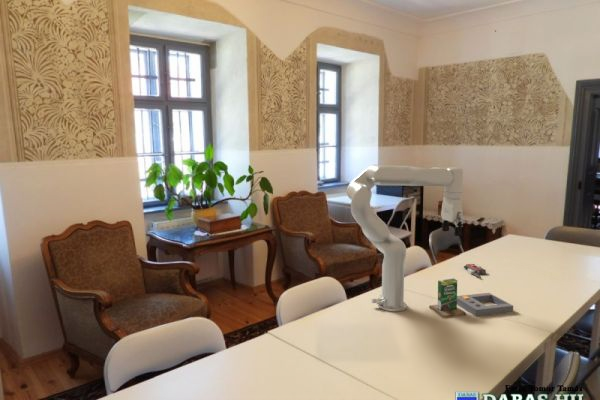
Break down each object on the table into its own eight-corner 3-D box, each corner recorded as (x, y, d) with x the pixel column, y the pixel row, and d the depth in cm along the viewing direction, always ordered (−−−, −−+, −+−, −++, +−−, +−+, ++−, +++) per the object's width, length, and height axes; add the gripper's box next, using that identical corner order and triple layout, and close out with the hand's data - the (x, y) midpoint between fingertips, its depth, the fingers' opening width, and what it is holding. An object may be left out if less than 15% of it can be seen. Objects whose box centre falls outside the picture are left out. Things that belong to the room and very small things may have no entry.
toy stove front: (475, 316, 177) (476, 308, 177) (454, 302, 193) (454, 295, 192) (513, 312, 181) (513, 304, 181) (488, 298, 197) (489, 291, 196)
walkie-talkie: (460, 269, 244) (478, 280, 224) (460, 261, 243) (479, 272, 223) (474, 268, 245) (494, 279, 225) (474, 260, 244) (494, 271, 224)
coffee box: (440, 311, 181) (441, 281, 179) (436, 308, 184) (437, 279, 182) (457, 309, 183) (458, 280, 181) (453, 306, 186) (454, 278, 184)
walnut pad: (442, 317, 177) (442, 315, 177) (429, 307, 187) (429, 305, 187) (466, 315, 179) (466, 312, 179) (451, 305, 190) (451, 303, 190)
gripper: (434, 193, 194) (433, 229, 196) (456, 198, 177) (455, 238, 180) (449, 192, 196) (448, 228, 198) (472, 197, 179) (470, 237, 181)
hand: (451, 233), depth 189 cm, fingers open, 9 cm apart
